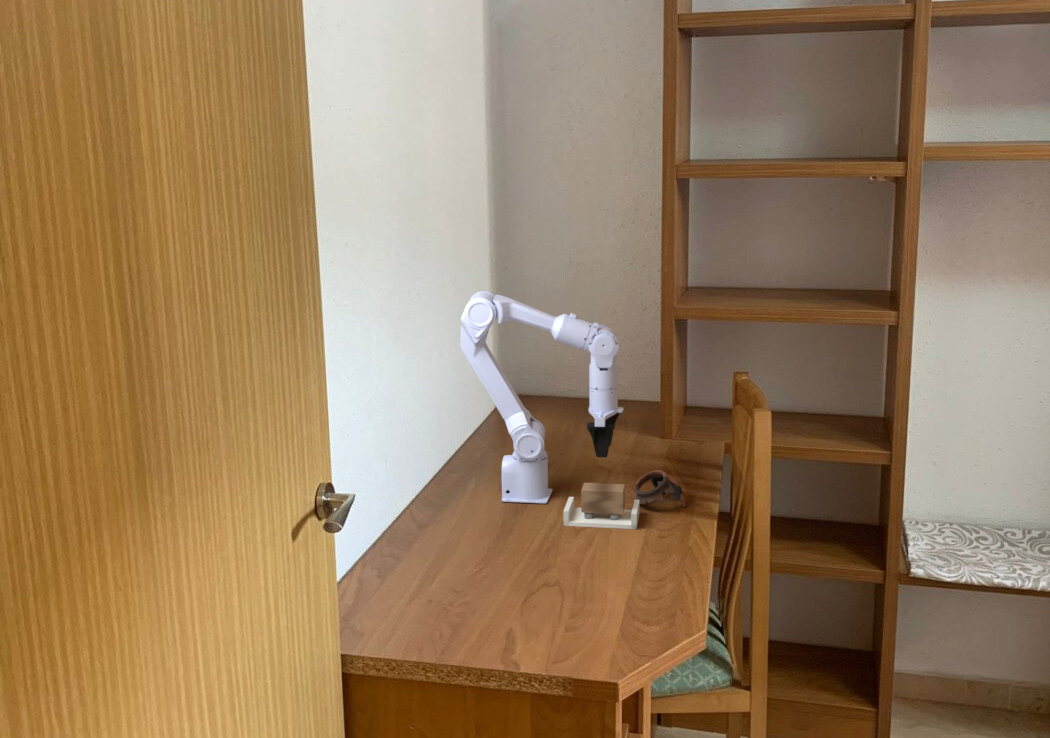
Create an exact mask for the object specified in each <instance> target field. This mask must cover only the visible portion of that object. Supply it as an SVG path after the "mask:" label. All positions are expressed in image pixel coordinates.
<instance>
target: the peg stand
mask: <svg viewBox="0 0 1050 738" xmlns="http://www.w3.org/2000/svg"><path fill="white" fill-rule="evenodd" d="M562 513H563V516H562V517H563V526H564V527H579V528H580V527H581V528H585V527H586V528H601V529H603V528H604V529H623V530H637V528H638V523H639V518H640V505H639V500H635V499H634V500H633V505H632V509H624V512H623V514H603V513H581V507H575V496H568V498H567V501H566V504H565V506H564V509H563V512H562Z"/></svg>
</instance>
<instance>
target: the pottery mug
mask: <svg viewBox="0 0 1050 738" xmlns="http://www.w3.org/2000/svg"><path fill="white" fill-rule="evenodd" d="M649 481H650V482H651V483H652V486H653V487H654V488H652V489H651V490H648V491H647V490H646V491H642V490H640V489H641V488H642V486H644V484H645V483H646V482H649ZM634 493H635V496H634V497H635V499H634V500H639V506H640V504H641V505H648V504H654V503H656V502H661V503H664V502H665V501H664V496H666V495H667V494H669V495H670V500H672V501H673V500H674V501H675V500H677V501H680V502H681V508H683V509H685V508H686V502H685V501H686V500H685V496H684V493H683V489H682V486H680V483H679V481H677V480H676V478H675V477H673V476H671V475H670V474H667V473H666V471H664V469H662V468H658V469H655V470H652V471H648V472H646V473H644V474H643V475H641V477H640V478H638V479H637V481H636V482H635V489H634Z"/></svg>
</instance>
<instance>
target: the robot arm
mask: <svg viewBox="0 0 1050 738" xmlns="http://www.w3.org/2000/svg"><path fill="white" fill-rule="evenodd" d="M496 319H498V320H497V321H498V322H497V324H498V325H501V324H505V323H508V322H512V321H515V322H518V323H521V324H523V325H524V324H525V325H527V326H531V327H533V328H537V329H540V330H544V331H546V332H549V333H550V334H551V336H552V337H553V340H554V341H556V342H558V343H561V344H564V345H567V346H569V347H572V348H575V349H578V350H580V351H583V352H584V351H586V352H587V351H589V353H590V363H589V365H588V370H589V371H588V373H589V375H588V378H589V379H588V381H589V384H588V385H589V389H588V390H589V391H588V392H589V393H588V394H589V396H588V397H589V399H588V400H589V401H588V402H589V403H588V405H589V406H588V413H589V414H590V415H591V416H592V417H593V419H594V421H593V422H592V421H591V422H590V421H588V422H587V424H586V428H587V430H588V432H589V435H590V436H591V441H592V443H593V444H592V445H593V447H594V455H595V457H596V458H607V456H608V454H609V450H610V449H609V448H610V447H611V445H612V442H613V436H614V430H615V428H616V422H617V419H618V418H619V416H620V414H621V413H622V414H623V412H624V407H623V406H618V401H619V399H618V389H619V388H618V383H619V382H618V381H619V379H618V377H619V375H618V370H619V369H618V367H619V366H618V364H617V362H618V355H617V354H618V352H619V349H620V345H619V340H618V337H617V334H616V332H615V331H614V330H613V329H612V328H610V327H608V326H607V325H605V324H601V325H600V323H598V322H596V321H595V322H592V323H591V322H589V321H587V320H583V319H581V318H578V315H577V313H574V312H570V314H567V313H562V314H560V315H558V316H555V315H552V314H550V313H547V312H545V311H542V310H539V309H537V308H535V307H533V306H529V305H527V304H525V303H523V302H520V301H518V300H515V299H513V298H510V297H507V296H505V295H500V294H495V295H494V294H493V293H492V292H490V291H486V290H485V291H484V290H481V291H477V292H475V293H474V294H473V295H472V296H471V297H470V299H469V300H468V303H467V304H466V305H465V307H464V310H463V313H462V315H461V317H460V341H459V343H460V344H459V345H460V346H459V347H460V349H461V351H462V353H463V355H464V356H465V358H466V360H467V361H468V363H469V365H470V366H471V368H472V369H473V371H474V372H475V373H474V374H475V375H476V377H477V378H478V379H479V382H480V383H481V384H482V386H483V387H484V389H485V391H486V392H487V394H488V396H489V398H490V399H491V401H492V402H493V404H494V406H495V407H496V409H497V410H498V412H499V414H500V416H501V417H502V419H503V420H504V422H505V425H506V428H507V432H508V434H509V435H510V437H511V439H512V443H513V444H512V445H513V446H512V447H513V450H514V451H513V452H512V454H505V455H503V457H502V461H501V502H503V503H504V502H505V503H522V504H523V503H525V504H528V503H529V504H548V502H549V499H550V498H551V495H552V493H553V489H552V488H550V487H549V474H548V473H549V471H548V470H549V469H548V468H549V467H548V464H549V459H548V452H547V450H545V447H546V446H545V445H546V444H545V439H546V428H545V426H544V424H543V423H542V422H540V421H539V420H538V419H536V418H534V416H533V415H532V414H531V411H530V410H528V409H527V408H526V407H525V406H524V403H522V401H521V399H520V397H519V396H518V394H517V393H516V391H515V389H514V388H513V386H512V384H511V383H510V381H509V379H508V377H507V376H506V375H505V373H504V371H503V370H502V368H501V366H500V364H499V363H498V361H497V359H496V358H495V356H494V355H493V353H492V351H491V349H490V348H489V346H488V345H487V338H488V334H489V331H490V329H491V327H492V326H493V324H494V323H495V322H496V321H495V320H496Z"/></svg>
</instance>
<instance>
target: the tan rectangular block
mask: <svg viewBox="0 0 1050 738" xmlns="http://www.w3.org/2000/svg"><path fill="white" fill-rule="evenodd" d="M625 490H626V484H623V483H602V482H601V483H598V482H583V484H582V487H581V491H580V492H581V493H580V495H581V496H580V498H581V499H580V502H581V504H580V505H581V507H580V508H581V513H603V514H623V512H624V510H625V507H626V502H625V501H626V491H625Z"/></svg>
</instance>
